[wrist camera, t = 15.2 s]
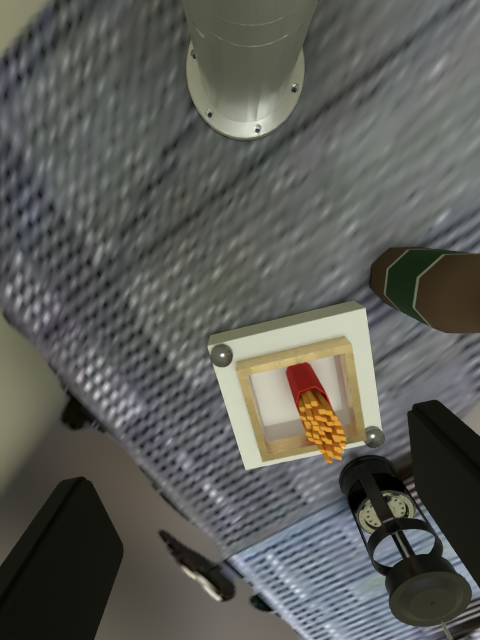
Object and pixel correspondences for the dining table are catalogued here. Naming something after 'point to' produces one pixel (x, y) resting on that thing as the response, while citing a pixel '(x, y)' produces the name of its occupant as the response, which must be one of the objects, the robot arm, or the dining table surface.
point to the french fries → (316, 411)
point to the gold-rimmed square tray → (273, 387)
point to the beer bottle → (431, 286)
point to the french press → (404, 548)
